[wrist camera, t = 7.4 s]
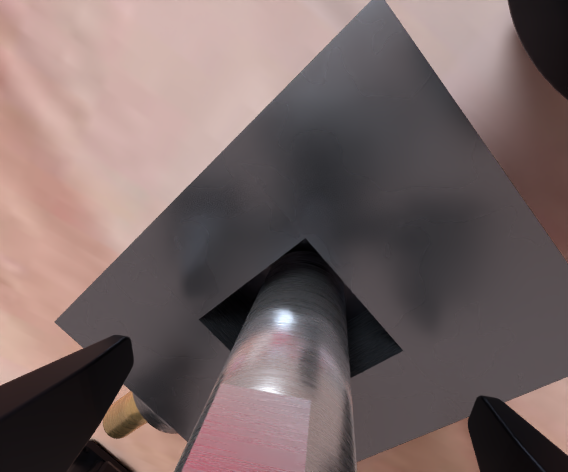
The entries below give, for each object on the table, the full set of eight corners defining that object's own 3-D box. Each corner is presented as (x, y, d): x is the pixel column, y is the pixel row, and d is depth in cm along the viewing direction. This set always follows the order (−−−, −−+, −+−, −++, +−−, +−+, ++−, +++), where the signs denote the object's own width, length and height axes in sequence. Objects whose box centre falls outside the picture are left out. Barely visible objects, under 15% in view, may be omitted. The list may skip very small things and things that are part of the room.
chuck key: (334, 352, 13) (336, 781, 4) (263, 340, 13) (136, 712, 5) (354, 221, 11) (436, 545, 2) (270, 212, 11) (68, 457, 3)
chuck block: (208, 438, 19) (168, 538, 14) (80, 320, 17) (-14, 390, 13) (517, 269, 12) (628, 351, 8) (358, 53, 11) (379, -8, 6)
